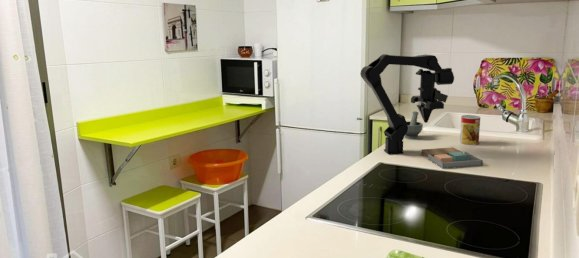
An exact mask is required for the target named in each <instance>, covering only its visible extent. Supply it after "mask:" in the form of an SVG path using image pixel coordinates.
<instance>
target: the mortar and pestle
mask: <svg viewBox="0 0 579 258" xmlns="http://www.w3.org/2000/svg"><path fill="white" fill-rule="evenodd" d="M418 115H419V112H418V111H415V110H414V111H412V115H411V119H410V121H406V122H407V123H408V131H407V133H406V134H405V136H404V139H407V140H418V139H419V134H421V133H422V130H423V123H422V122H420V121H418Z"/></svg>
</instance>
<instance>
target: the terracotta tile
mask: <svg viewBox="0 0 579 258" xmlns="http://www.w3.org/2000/svg"><path fill="white" fill-rule="evenodd" d="M434 157H435V158H436V159H438V160H440V161H441V162H443V163H447V162H453V157H451V156H449V155H447V154H439V155H434Z"/></svg>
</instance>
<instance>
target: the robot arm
mask: <svg viewBox="0 0 579 258" xmlns="http://www.w3.org/2000/svg"><path fill="white" fill-rule="evenodd" d="M389 65H394V66H395V65H396V66H409V67H410V66H411V67H412V66H414V67H417V68H419V69H418V70H417V71H416V72H415V75H416V76H417V75H418V76H420V83H419V87H418V89H417V90H418V91H419V95H413V96H411V97H410V103H412V104H415V103H418V104H416V107H417V108H418V111H419V112H420V116H421V118H422V120H423V122H424V123H426V124H427V123H428V122H429V119H430V117H431V114H432V112H433V111H434V110H443V109H445V103H446V102H447V100H448V97H449V95H447V94H444V93H442V92H441V90H439V89H437V88H436V86H435V84H436V85H438V86H440V85H441V86H445V85H452V84H453V83H454V81H455V76H454V71H452V70H453V69H452V67H446V68H442V67H441V65H440V64H439V60H438V58H437V56H436V55H433V54H419V55H413V56H412V55H410V56H407V55H396V54H395V55H394V54H384V53H383V54H381V55H380V56H379V57H378V58H376V59H374V60H373V61H371V62H370V63H369V64H368V65H366V66H365V65H364V67H362V68H361V71H360V73H359V74H360V77H361V78H362V79H363V81H364V82H365V83H366V85H368V86H369V87H370V88H371V90H372V92H373V94H374V95H375V97H376V100H377V101H378V103H379V104H380V107H381V109H382V110H383V112H384V114H385V116H386V121H387V125H388V127H387V128H385V129H384V131H383V133H384V136H385V142H384V143H385V145H384V147H385V148H384V149H383V152H385V153H387V154H388V155H397V154H401V155H402V154H404V141H403V140H404V139H405V134H406V133H407V131H408V123H407V122H408V121H407V120H406V117H405V115H403V114H400V113H397V111H396V109H395V107H394V105H393V102H391V100H390V98H389V96H388V94H387V92H386V90H385V88H384V87H383V84H382V83H383V82H382V78H381V77H382V76H381V74H382V73H383V72H384V71H385V69H386V68H387V67H388V66H389ZM423 69H426V70H423Z"/></svg>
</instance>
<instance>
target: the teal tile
mask: <svg viewBox="0 0 579 258" xmlns="http://www.w3.org/2000/svg"><path fill="white" fill-rule="evenodd" d="M462 152H463V151H461V152H450V153H449V156H451V157H453V160H454V161H461V160H467V155H466V154H464V152H463V153H462Z"/></svg>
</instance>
